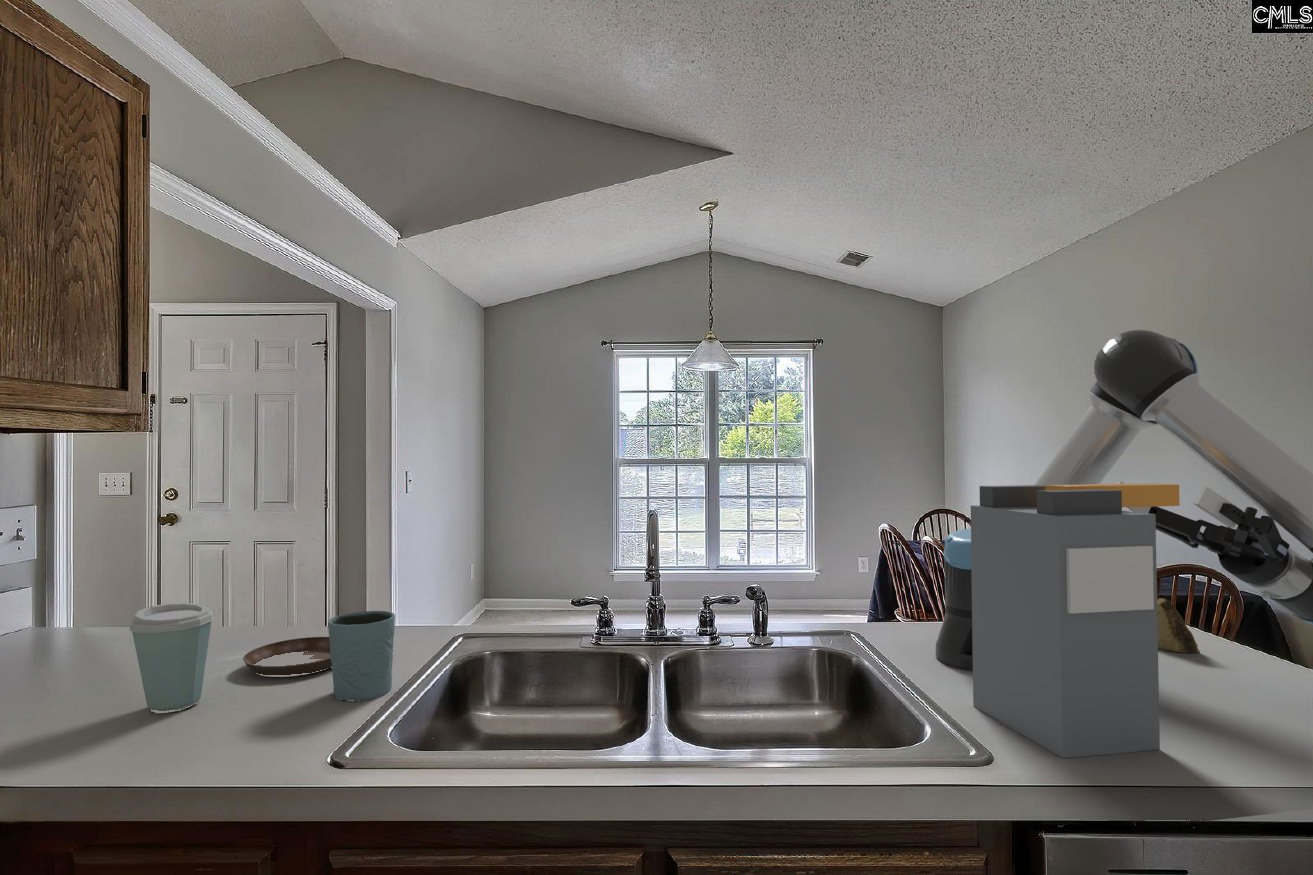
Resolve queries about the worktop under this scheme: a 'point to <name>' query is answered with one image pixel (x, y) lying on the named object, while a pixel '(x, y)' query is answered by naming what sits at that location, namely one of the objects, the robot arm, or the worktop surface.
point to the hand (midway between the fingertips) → (1154, 491)
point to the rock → (1173, 630)
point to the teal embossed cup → (362, 654)
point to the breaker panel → (1066, 618)
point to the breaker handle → (1134, 493)
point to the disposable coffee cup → (172, 653)
